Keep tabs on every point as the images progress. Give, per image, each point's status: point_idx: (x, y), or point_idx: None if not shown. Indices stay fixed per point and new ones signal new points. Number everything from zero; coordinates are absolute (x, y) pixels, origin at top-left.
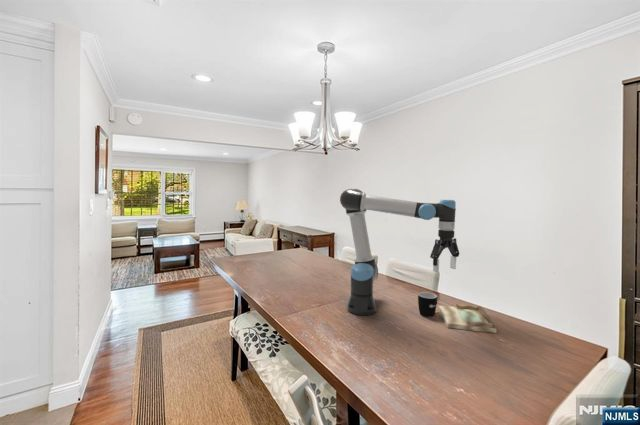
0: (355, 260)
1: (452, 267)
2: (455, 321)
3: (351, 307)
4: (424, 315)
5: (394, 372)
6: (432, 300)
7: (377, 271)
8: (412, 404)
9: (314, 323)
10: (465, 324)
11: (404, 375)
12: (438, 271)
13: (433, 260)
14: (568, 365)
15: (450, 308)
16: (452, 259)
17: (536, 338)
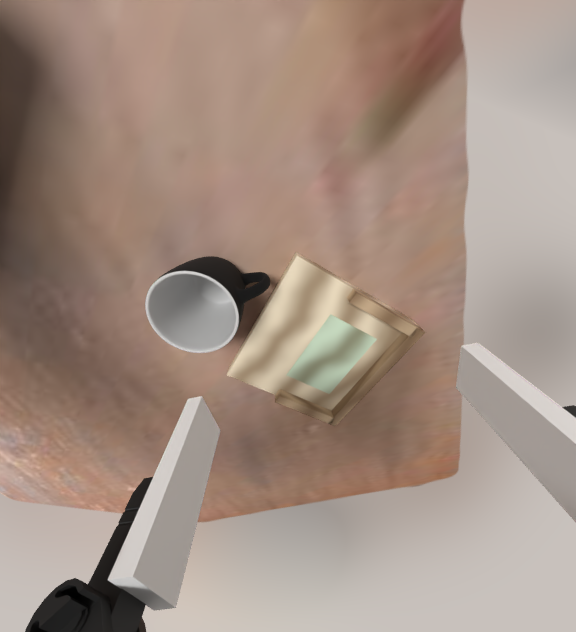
0: None
1: (467, 376)
2: (259, 371)
3: None
4: (197, 296)
5: (36, 453)
6: (198, 347)
7: None
8: (53, 493)
9: None
10: (274, 389)
11: (54, 460)
12: (216, 437)
13: (101, 566)
14: (341, 487)
15: (319, 294)
16: (561, 465)
17: (390, 438)
